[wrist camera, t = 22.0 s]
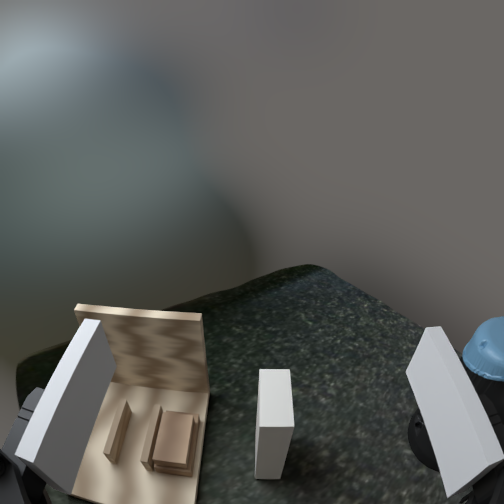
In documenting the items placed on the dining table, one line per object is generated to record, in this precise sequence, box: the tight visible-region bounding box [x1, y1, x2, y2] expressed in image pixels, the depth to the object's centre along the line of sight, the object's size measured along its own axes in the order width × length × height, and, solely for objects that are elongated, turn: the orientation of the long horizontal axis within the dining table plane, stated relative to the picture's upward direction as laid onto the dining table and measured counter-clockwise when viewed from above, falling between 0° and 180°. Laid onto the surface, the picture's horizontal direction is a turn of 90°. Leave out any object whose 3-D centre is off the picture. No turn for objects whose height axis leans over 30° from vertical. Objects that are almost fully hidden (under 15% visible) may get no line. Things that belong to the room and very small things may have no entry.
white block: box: [255, 369, 294, 479], centre depth 37 cm, size 4×8×16 cm, turn 179°
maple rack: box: [68, 304, 210, 504], centre depth 36 cm, size 19×24×18 cm
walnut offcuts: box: [152, 410, 200, 477], centre depth 39 cm, size 5×10×4 cm, turn 179°
